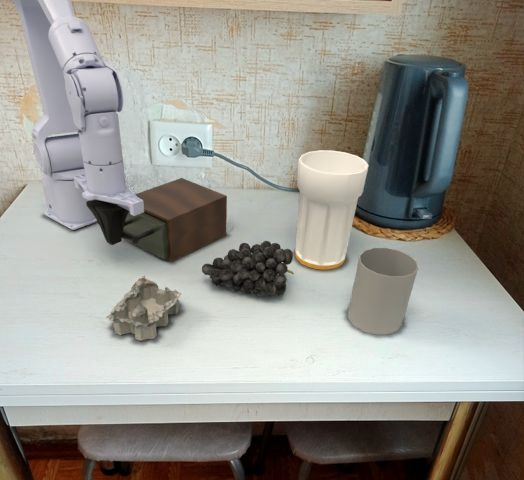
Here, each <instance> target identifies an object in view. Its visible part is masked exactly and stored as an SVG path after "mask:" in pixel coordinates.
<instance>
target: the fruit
mask: <svg viewBox="0 0 524 480" xmlns="http://www.w3.org/2000/svg"><path fill="white" fill-rule="evenodd" d="M293 258H294V252H293V251H292V249H290V248H284V249H283V248H282V247H281V244H279V243H278V242H272V243H271V241H269V240H264V241H262V242H261V243H260V244H258V243H256V244H252V246H251V245H250V244H249V243H247V242H242V243H241V244H239V247H238V250H237V249H235V248H231V249H230V250H228V252H227V254H226V255H225V256H223V258H222V257H215V258H214V259H213V260H212V264H211V263H204V264H203V265H202V267H201V273H202V274H204V275H205V276H209V278H210V280H211V283H212V284H213V285H214V286H216V287H219V286H221V285H223V286H226V287H231V290H232V291H233V292H235V293H239V292H240V291H242V292H244V293H249V292H250V293H251V294H253V295H258V296H259V297H260V298H266V297H268V296H271V295H274V296H276V297H281V296H284V295H285V292H286V290H287V282H288V278H287V276H286V274H287V273H289V274H291V275H295V273H294V272H293V270H290V269H288V268H289V266H287V265H291V263H292V262H293Z"/></svg>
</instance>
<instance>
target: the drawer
mask: <svg viewBox="0 0 524 480" xmlns="http://www.w3.org/2000/svg"><path fill="white" fill-rule="evenodd" d="M122 240H125V241H127V242H128V243H131V244H133V245H135V246H137V247H139V248H141V249H143V250H145V251H147V252H149V253H151V254H153V255H155V256H157V257H159V258H160V259H163V260H166V258H168V257H169V246H168V231H167V222H166V221H164V220H162V219H160V218H157V217H155V216H153V215H151V214H149V213H147V212H143V213H141V214H138V215H135V216H133V215H131V214H130V211H129V213H128V215H127V217H126V220H125V224H124V229H123V235H122Z"/></svg>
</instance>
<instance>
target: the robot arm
mask: <svg viewBox="0 0 524 480" xmlns="http://www.w3.org/2000/svg"><path fill="white" fill-rule="evenodd" d="M11 1H12V3H13V4H14V7H15V9H16V11H17V14H18V17H19V20H20V26H21V29H22V33H23V36H24V41H25V44H26V45H25V46H26V48H27V53H28V58H29V61H30V65H31V68H32V72H33V73H32V74H33V76H34V77H33V78H34V81H35V84H36V89H37V93H38V97H39V101H40V105H41V109H42V112H43V116H42V117H41V118H40V119H39V121H38V122H37V123H36V124H35V125H34V126H33V127H32V130H31V136H32V142H33V143H32V144H33V152H34V156H35V160H36V162H37V165H38V168H39V170H40V171H41V172H42V173H43V175H42V179H41V185H42V189H43V194H44V198H45V203H46V207H47V211H44V216H45V217H48V218H49V219H51V220H53V221H55V222H56V223H58V224H60V225H62V226H64V227H66V228H68V229H70V230H72V231H74V230H78V229H80V228H83V227H86V226H88V225H91V224H94V223H98V225H99V227H100V230H101V233H102V235H103V237H104V239H105V241H106V243H107V244H109V245H111V246H114V245H117V244H120V243H122V240H123V238H122V235H123V229H124V224H125V220H126V217H127V215H128V213H129V211H130V214H131V215H133V216H135V215H138V214H141V213H143V212H144V203H143V200H142V199H140V198H138V197H137V196H136V195H135V194H136V193H134V192H133V191H132V189H130V188H129V186H128V185H127V183H126V174H125V166H124V165H125V164H124V156H123V148H122V147H123V146H122V139H121V128H120V121H119V119H120V118H119V114H118V113H120V112H122V110H123V107H124V93H123V86H122V83H121V79H120V76H119V74H118V72H117V69H116V68H115V67H114V66H112V65H111V64H110V62H109V60H107V59H105V60H104V59H103V57H102V55H101V53H100V51H99V48H98V46H97V43H96V41H95V39H94V36H93V34H92V32H91V30H90V27H89V25H88V24H87V23H86V22H85V21H84V20H83V19H81V18H79V17H77V16H76V12H75V10H74V6H73V3H72V1H71V0H11ZM70 133H72V134H70ZM60 134H63V135H60ZM52 135H55V136H52Z"/></svg>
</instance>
